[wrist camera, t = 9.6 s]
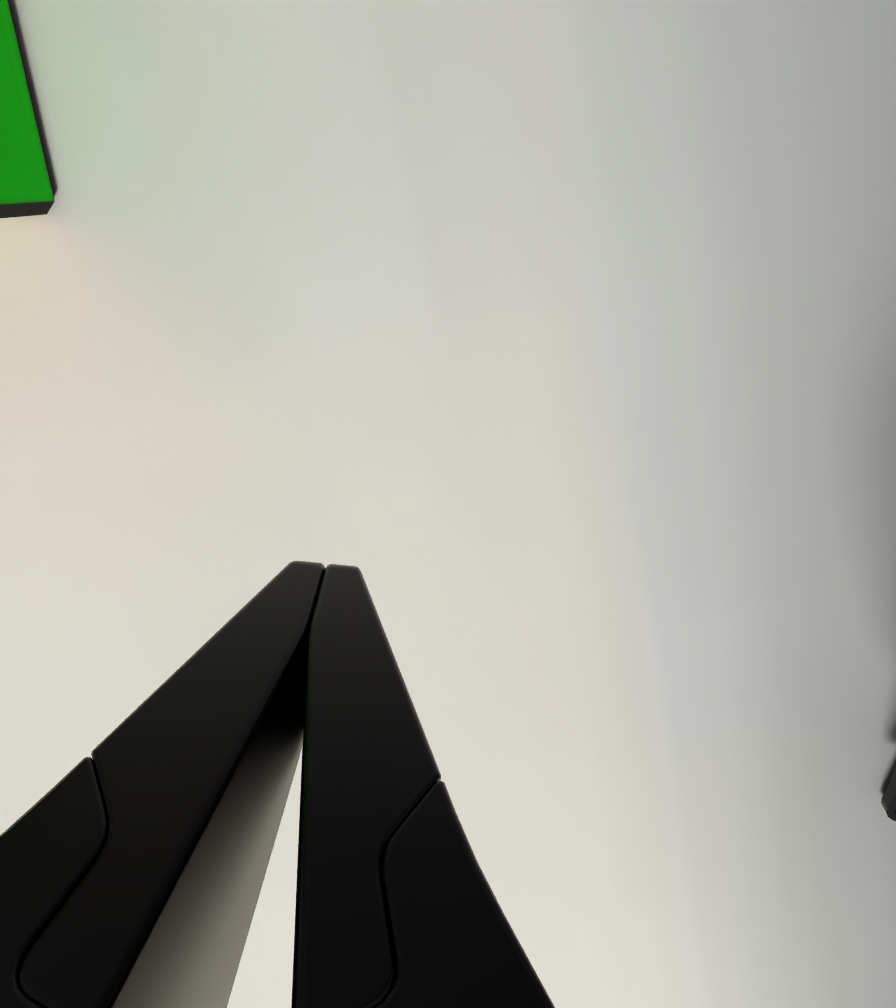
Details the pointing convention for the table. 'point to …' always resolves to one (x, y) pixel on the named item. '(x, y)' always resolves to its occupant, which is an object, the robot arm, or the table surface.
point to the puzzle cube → (19, 134)
